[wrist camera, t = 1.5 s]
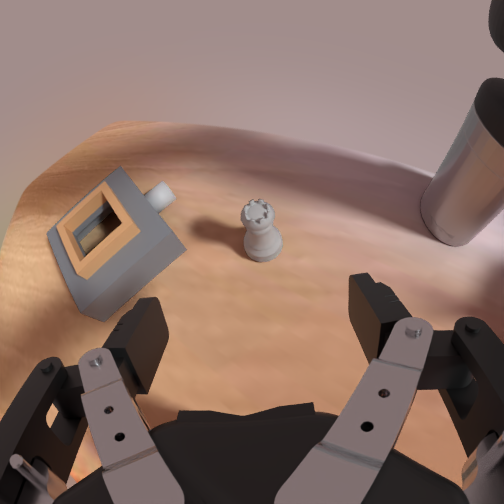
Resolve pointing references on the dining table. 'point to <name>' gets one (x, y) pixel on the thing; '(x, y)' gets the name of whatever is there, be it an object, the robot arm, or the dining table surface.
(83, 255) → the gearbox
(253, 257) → the rook chess piece
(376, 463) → the robot arm
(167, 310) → the dining table surface
